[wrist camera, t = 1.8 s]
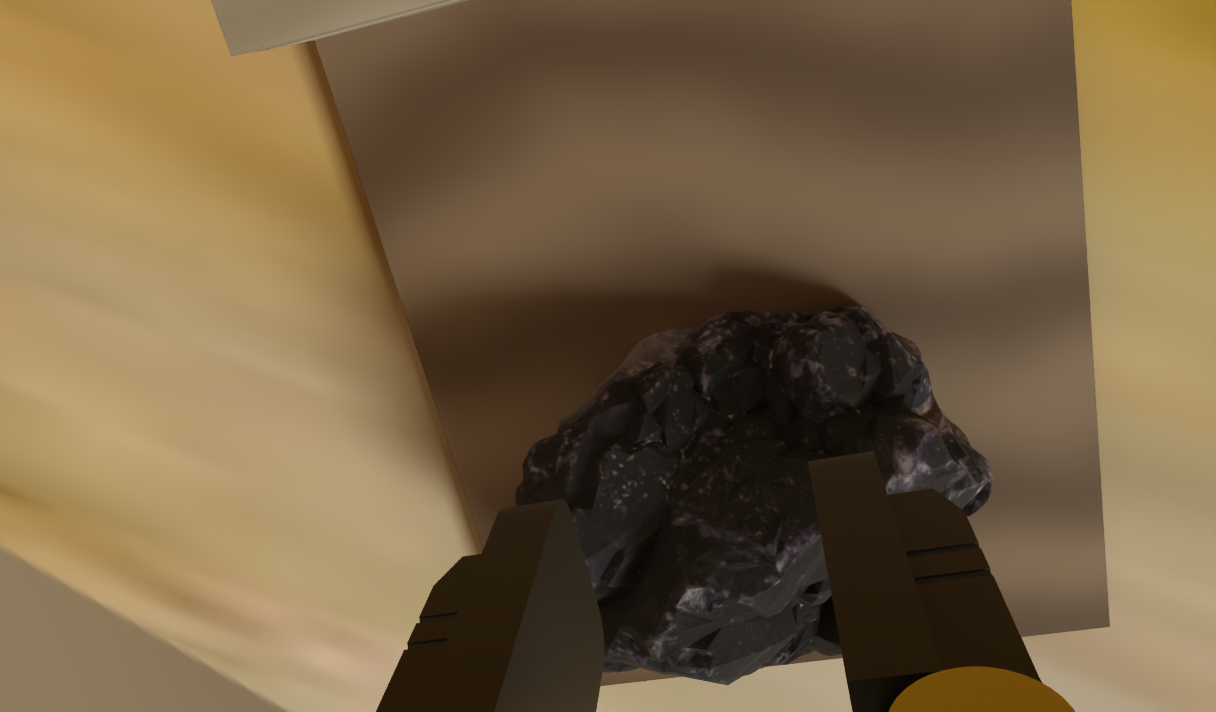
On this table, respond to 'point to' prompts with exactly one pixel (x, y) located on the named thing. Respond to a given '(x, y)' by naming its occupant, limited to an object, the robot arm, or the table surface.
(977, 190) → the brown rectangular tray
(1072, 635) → the table surface
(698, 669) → the black rock
